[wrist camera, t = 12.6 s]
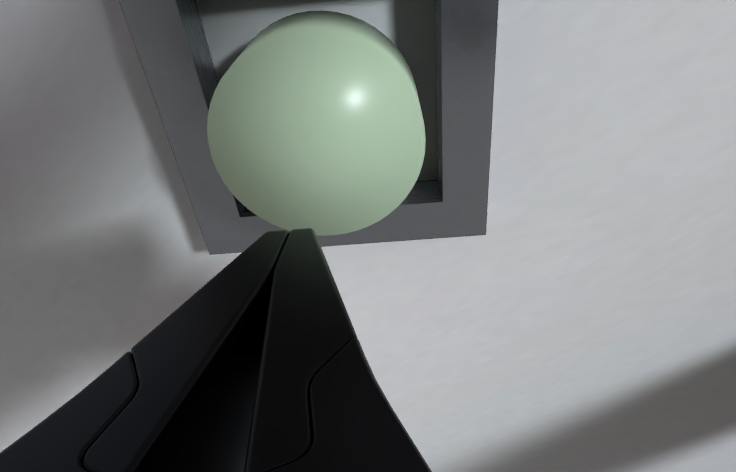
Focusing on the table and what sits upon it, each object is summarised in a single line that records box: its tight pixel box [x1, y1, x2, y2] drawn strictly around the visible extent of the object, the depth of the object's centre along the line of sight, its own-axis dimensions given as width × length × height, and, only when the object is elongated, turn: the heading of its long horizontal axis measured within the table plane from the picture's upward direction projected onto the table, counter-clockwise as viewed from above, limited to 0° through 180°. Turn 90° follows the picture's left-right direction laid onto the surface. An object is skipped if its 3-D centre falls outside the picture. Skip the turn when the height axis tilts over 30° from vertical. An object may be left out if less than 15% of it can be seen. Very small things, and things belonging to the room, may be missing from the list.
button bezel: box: [119, 0, 498, 255], centre depth 15 cm, size 10×10×2 cm
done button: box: [207, 11, 426, 236], centre depth 14 cm, size 6×6×2 cm
